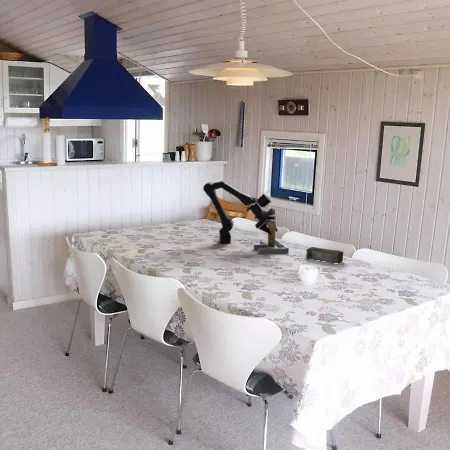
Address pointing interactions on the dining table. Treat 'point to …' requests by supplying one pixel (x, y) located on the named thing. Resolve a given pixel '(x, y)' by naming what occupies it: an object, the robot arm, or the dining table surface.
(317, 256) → the dark grey box
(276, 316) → the dining table surface
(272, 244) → the walnut post
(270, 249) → the metal rail corridor
